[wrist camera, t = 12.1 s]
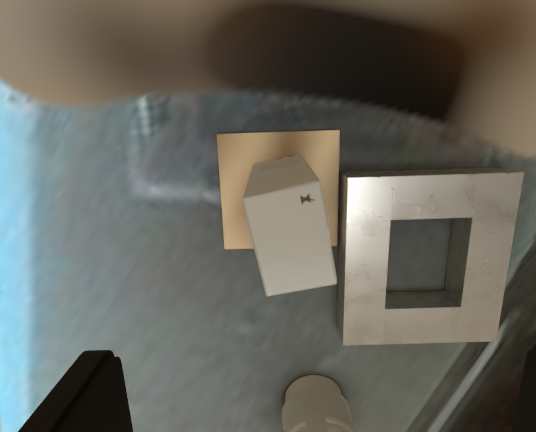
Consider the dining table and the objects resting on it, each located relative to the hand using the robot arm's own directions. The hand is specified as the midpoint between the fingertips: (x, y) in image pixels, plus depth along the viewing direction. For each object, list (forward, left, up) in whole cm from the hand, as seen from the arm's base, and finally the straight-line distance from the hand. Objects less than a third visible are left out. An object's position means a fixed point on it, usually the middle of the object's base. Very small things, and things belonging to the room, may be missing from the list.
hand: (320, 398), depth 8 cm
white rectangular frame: (-12, +6, -23) cm, 27 cm away
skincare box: (0, 0, -23) cm, 23 cm away
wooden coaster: (0, 0, -23) cm, 23 cm away
